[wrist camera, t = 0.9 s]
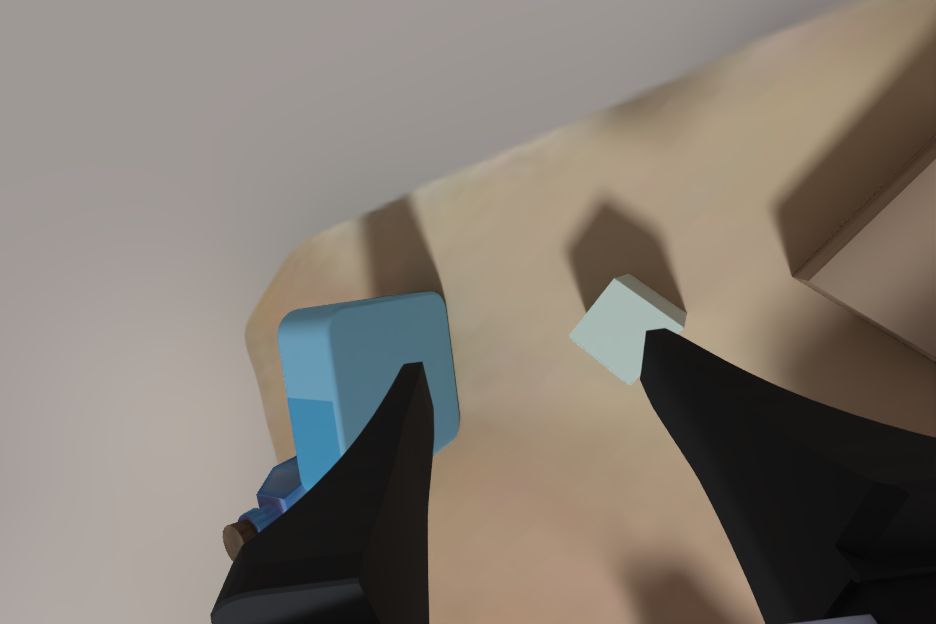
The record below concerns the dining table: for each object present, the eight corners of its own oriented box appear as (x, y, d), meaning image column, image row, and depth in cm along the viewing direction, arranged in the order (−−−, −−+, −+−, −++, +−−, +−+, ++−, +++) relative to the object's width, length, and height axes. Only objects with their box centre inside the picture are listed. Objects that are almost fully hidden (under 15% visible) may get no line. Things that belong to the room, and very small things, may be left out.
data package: (401, 293, 34) (271, 312, 24) (445, 289, 31) (321, 307, 21) (419, 429, 35) (302, 503, 25) (463, 434, 32) (353, 519, 22)
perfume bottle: (382, 502, 38) (266, 594, 28) (339, 496, 42) (222, 576, 31) (369, 441, 38) (248, 511, 28) (327, 439, 41) (205, 501, 31)
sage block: (686, 313, 23) (684, 327, 19) (641, 362, 25) (629, 385, 20) (629, 273, 24) (614, 278, 20) (589, 322, 26) (568, 336, 22)
